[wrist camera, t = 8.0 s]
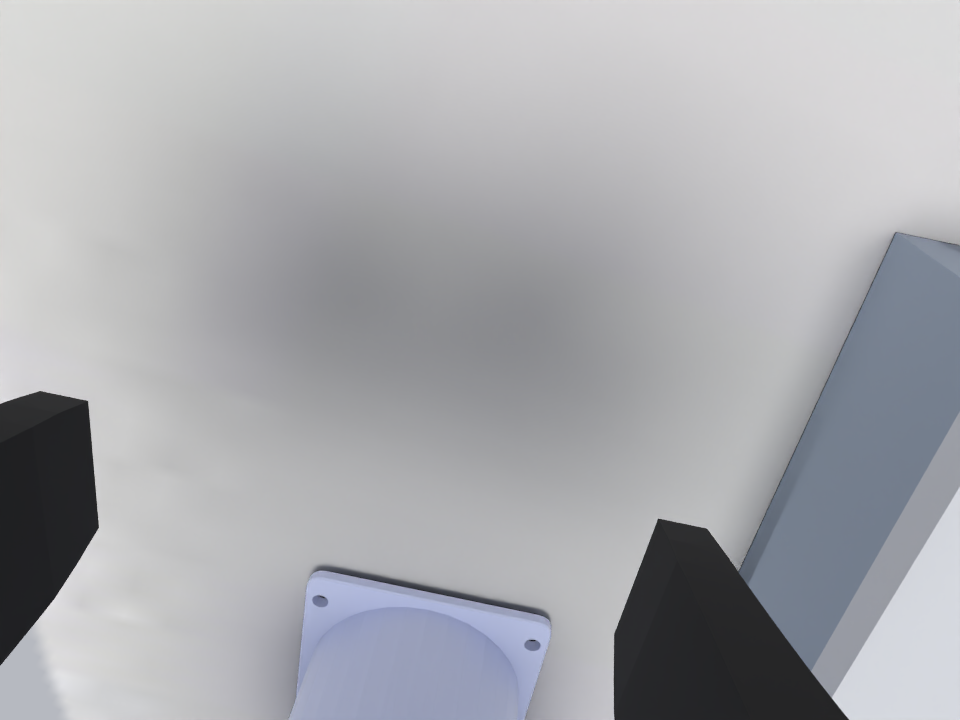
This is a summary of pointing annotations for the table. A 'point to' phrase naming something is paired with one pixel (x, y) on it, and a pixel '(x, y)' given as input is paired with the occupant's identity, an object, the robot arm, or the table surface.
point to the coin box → (878, 504)
